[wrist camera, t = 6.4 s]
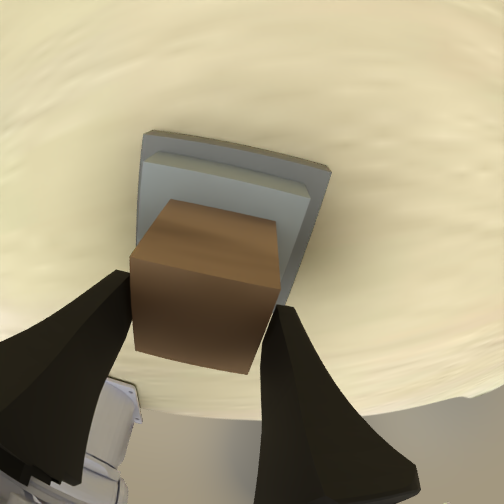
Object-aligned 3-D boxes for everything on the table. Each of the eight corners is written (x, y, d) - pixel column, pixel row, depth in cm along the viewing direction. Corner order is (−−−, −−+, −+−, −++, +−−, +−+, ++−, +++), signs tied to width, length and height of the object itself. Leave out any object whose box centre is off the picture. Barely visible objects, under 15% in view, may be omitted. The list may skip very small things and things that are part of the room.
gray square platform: (279, 293, 19) (281, 314, 18) (146, 266, 19) (136, 284, 17) (323, 162, 15) (331, 172, 13) (157, 128, 14) (143, 134, 12)
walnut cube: (251, 300, 15) (247, 374, 11) (163, 281, 14) (135, 350, 10) (275, 221, 12) (280, 289, 8) (170, 198, 12) (129, 256, 8)
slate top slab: (265, 296, 17) (265, 320, 15) (148, 270, 16) (136, 291, 15) (304, 183, 13) (310, 198, 12) (158, 151, 13) (143, 161, 11)
